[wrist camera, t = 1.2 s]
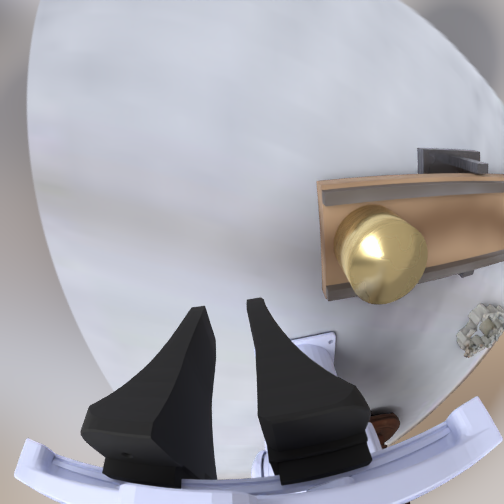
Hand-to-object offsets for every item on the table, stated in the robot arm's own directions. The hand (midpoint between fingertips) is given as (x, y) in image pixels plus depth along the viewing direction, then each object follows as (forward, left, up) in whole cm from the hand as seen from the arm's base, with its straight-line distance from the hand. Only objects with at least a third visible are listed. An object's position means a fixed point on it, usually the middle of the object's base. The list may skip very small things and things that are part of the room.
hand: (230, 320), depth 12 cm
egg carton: (-19, -33, -10) cm, 39 cm away
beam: (0, -20, -6) cm, 21 cm away
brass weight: (0, -9, -5) cm, 10 cm away
